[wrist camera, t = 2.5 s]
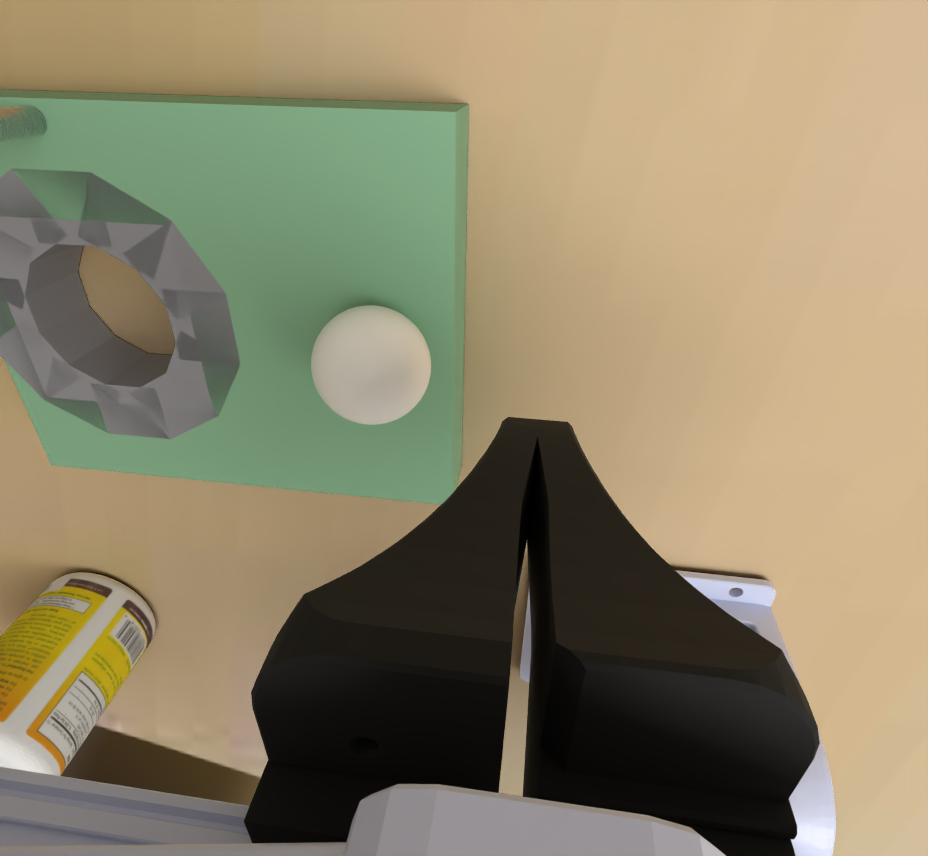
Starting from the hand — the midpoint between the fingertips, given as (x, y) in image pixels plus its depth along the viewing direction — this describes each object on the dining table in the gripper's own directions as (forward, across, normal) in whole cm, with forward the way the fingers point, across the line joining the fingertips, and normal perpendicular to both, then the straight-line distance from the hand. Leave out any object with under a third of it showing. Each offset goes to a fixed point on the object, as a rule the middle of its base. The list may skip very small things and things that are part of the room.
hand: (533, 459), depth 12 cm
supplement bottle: (+8, +20, +17) cm, 28 cm away
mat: (+8, +10, 0) cm, 13 cm away
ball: (+4, +4, 0) cm, 6 cm away
